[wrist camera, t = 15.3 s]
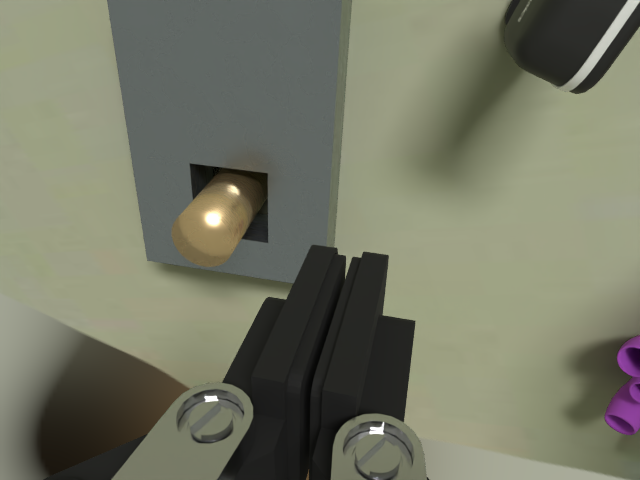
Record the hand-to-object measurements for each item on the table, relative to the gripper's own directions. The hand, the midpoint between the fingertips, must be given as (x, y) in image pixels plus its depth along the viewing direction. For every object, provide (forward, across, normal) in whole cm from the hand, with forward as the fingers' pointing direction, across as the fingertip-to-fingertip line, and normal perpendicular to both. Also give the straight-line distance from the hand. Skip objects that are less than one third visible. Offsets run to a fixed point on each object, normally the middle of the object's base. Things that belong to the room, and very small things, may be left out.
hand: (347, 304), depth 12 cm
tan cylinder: (+25, +12, +10) cm, 30 cm away
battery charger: (+26, -6, -4) cm, 27 cm away
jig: (+25, +12, +6) cm, 29 cm away
